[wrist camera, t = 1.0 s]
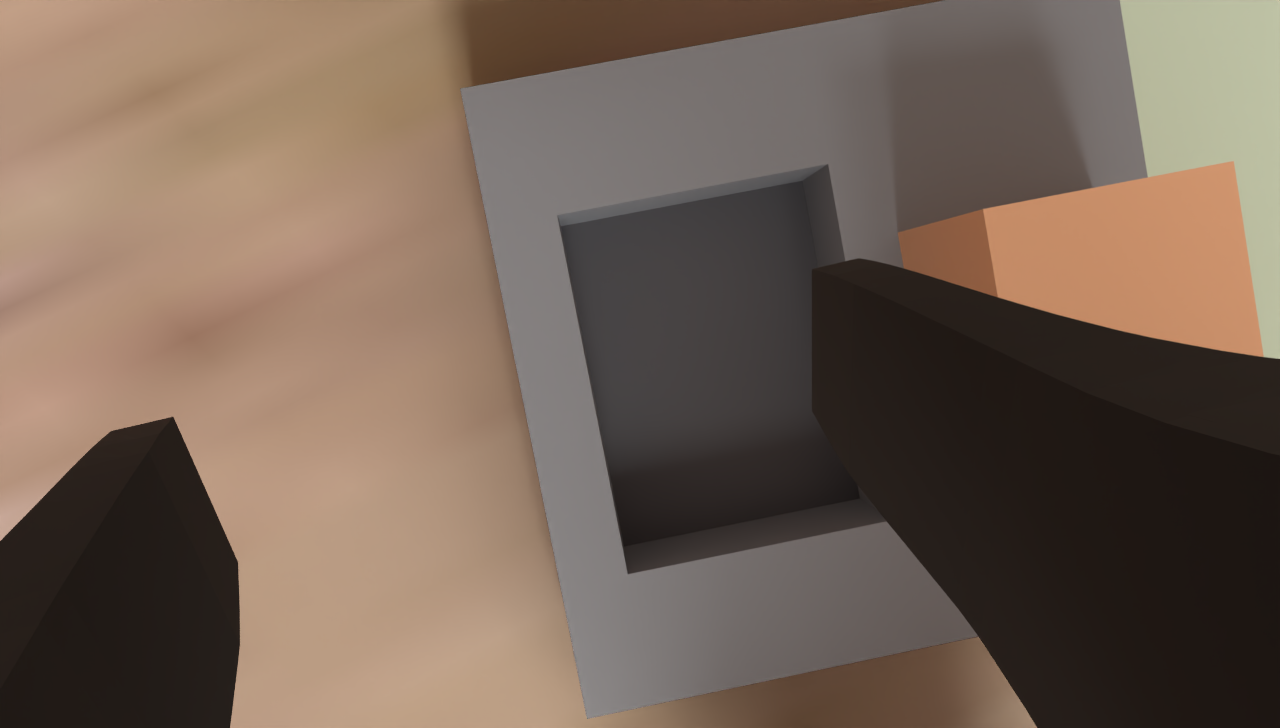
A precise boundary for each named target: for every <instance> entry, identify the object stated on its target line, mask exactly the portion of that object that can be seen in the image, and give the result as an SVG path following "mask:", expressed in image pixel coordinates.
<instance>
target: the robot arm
mask: <svg viewBox="0 0 1280 728" xmlns="http://www.w3.org/2000/svg"><path fill="white" fill-rule="evenodd" d="M812 412H813V414H814V416H815V417H816V419H817V421H818V423H819V424H820V426H821V428H822V430H823V431H824V433H825V435H826V437H827V439H828V440H829V442H830V444H831V446H832V447H833V449H834V451H835V452H836V454H837V455H838V457H839V459H840V460H841V462H842V464H843V465H844V467H845V468H846V470H847V472H848V473H849V475H850V476H851V477H852V479H853V480H854V481H855V482H856V484H857V485H858V486H859V488H860V489H861V490H862V491H863V493H864V494H865V495H866V496H867V498H868V499H869V500H870V501H871V503H872V504H873V505H874V506H875V508H876V509H877V510H878V511H879V513H880V514H881V515H882V516H883V518H884V519H885V520H886V521H887V523H888V524H889V525H890V526H891V527H892V529H893V530H894V531H895V532H896V534H897V535H898V536H899V537H900V538H901V540H902V541H903V542H904V543H905V545H906V546H907V547H908V548H909V549H910V551H911V552H912V553H913V554H914V556H915V557H916V558H917V559H918V560H919V562H920V563H921V564H922V565H923V567H924V568H925V569H926V570H927V571H928V573H929V574H930V575H931V576H932V578H933V579H934V580H935V581H936V582H937V584H938V585H939V586H940V587H941V589H942V590H943V591H944V592H945V593H946V595H947V596H948V597H949V598H950V600H951V601H952V602H953V603H954V604H955V606H956V607H957V608H958V609H959V611H960V612H961V614H962V615H963V616H964V618H965V619H966V620H967V622H968V623H969V624H970V626H971V627H972V628H973V630H974V631H975V632H976V634H977V635H978V636H979V638H980V639H981V641H982V642H983V644H984V645H985V647H986V648H987V650H988V651H989V653H990V654H991V656H992V657H993V659H994V660H995V662H996V664H997V665H998V667H999V668H1000V670H1001V671H1002V673H1003V674H1004V676H1005V677H1006V679H1007V680H1008V682H1009V684H1010V685H1011V687H1012V688H1013V690H1014V691H1015V693H1016V694H1017V696H1018V697H1019V699H1020V700H1021V702H1022V704H1023V705H1024V707H1025V708H1026V710H1027V711H1028V713H1029V715H1030V716H1031V718H1032V720H1033V721H1034V723H1035V724H1036V726H1037V728H1280V359H1276V358H1268V357H1260V356H1254V355H1247V354H1240V353H1234V352H1227V351H1221V350H1215V349H1210V348H1205V347H1199V346H1194V345H1189V344H1183V343H1178V342H1173V341H1167V340H1162V339H1156V338H1151V337H1147V336H1142V335H1138V334H1133V333H1129V332H1124V331H1120V330H1115V329H1111V328H1108V327H1104V326H1100V325H1096V324H1092V323H1088V322H1084V321H1080V320H1076V319H1072V318H1069V317H1065V316H1061V315H1057V314H1053V313H1050V312H1046V311H1043V310H1039V309H1036V308H1032V307H1029V306H1025V305H1022V304H1019V303H1015V302H1012V301H1009V300H1005V299H1002V298H999V297H995V296H992V295H989V294H986V293H982V292H979V291H976V290H973V289H970V288H966V287H963V286H960V285H957V284H953V283H950V282H947V281H944V280H941V279H937V278H934V277H931V276H928V275H924V274H921V273H918V272H914V271H911V270H907V269H904V268H900V267H897V266H893V265H889V264H886V263H881V262H877V261H872V260H867V259H861V258H857V259H853V260H849V261H844V262H840V263H836V264H831V265H827V266H823V267H818V268H814V269H812ZM239 647H240V609H239V580H238V561H237V559H236V557H235V555H234V552H233V550H232V548H231V546H230V543H229V541H228V539H227V537H226V534H225V532H224V530H223V528H222V525H221V523H220V521H219V519H218V516H217V514H216V512H215V510H214V507H213V505H212V503H211V501H210V498H209V496H208V494H207V492H206V489H205V487H204V485H203V483H202V480H201V478H200V476H199V474H198V471H197V469H196V467H195V465H194V462H193V460H192V458H191V456H190V453H189V451H188V449H187V447H186V444H185V442H184V440H183V438H182V435H181V433H180V431H179V429H178V426H177V424H176V422H175V420H174V417H171V418H166V419H162V420H158V421H153V422H149V423H145V424H140V425H136V426H132V427H127V428H123V429H119V430H114V431H111V432H110V433H108V434H107V435H106V436H105V437H104V438H102V439H101V440H100V441H99V442H98V443H97V444H96V445H95V446H94V447H92V448H91V449H90V450H89V451H88V452H87V453H86V454H85V455H84V456H83V457H82V458H81V459H80V460H79V461H78V462H77V463H76V464H75V465H74V466H73V467H72V468H71V469H70V470H69V471H68V472H67V473H66V474H65V475H64V476H63V477H62V478H61V480H60V481H59V482H58V483H57V484H56V485H55V486H54V487H53V488H52V489H51V490H50V491H49V492H48V493H47V494H46V495H45V496H44V497H43V498H42V499H41V500H40V501H39V502H38V503H37V504H36V505H35V506H34V507H33V508H32V509H31V510H30V511H29V512H28V514H27V515H26V516H25V517H24V518H23V519H22V520H21V521H20V522H19V523H18V524H17V525H16V526H15V527H14V528H13V529H12V530H11V531H10V532H9V533H8V534H7V535H6V536H5V537H4V538H3V539H2V540H1V541H0V728H230V722H231V715H232V707H233V698H234V690H235V682H236V674H237V665H238V656H239Z"/></svg>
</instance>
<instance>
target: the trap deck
mask: <svg viewBox="0 0 1280 728" xmlns="http://www.w3.org/2000/svg"><path fill="white" fill-rule="evenodd" d="M460 90H461V95H462V100H463V105H464V110H465V115H466V120H467V125H468V130H469V135H470V140H471V145H472V150H473V155H474V160H475V165H476V170H477V175H478V180H479V185H480V190H481V194H482V199H483V204H484V209H485V214H486V219H487V224H488V229H489V234H490V239H491V244H492V249H493V254H494V259H495V264H496V269H497V274H498V279H499V284H500V289H501V294H502V299H503V304H504V309H505V314H506V319H507V324H508V329H509V334H510V339H511V344H512V348H513V353H514V358H515V363H516V368H517V373H518V378H519V383H520V388H521V393H522V398H523V403H524V408H525V413H526V418H527V423H528V428H529V433H530V438H531V443H532V448H533V453H534V458H535V463H536V468H537V473H538V478H539V483H540V488H541V493H542V498H543V503H544V507H545V512H546V517H547V522H548V527H549V532H550V537H551V542H552V547H553V552H554V557H555V562H556V567H557V572H558V577H559V582H560V587H561V592H562V597H563V602H564V607H565V612H566V617H567V622H568V627H569V632H570V637H571V642H572V647H573V652H574V657H575V661H576V666H577V671H578V676H579V681H580V686H581V691H582V696H583V701H584V706H585V711H586V716H587V719H589V718H594V717H598V716H603V715H608V714H613V713H617V712H622V711H627V710H632V709H636V708H641V707H646V706H651V705H655V704H660V703H665V702H670V701H674V700H679V699H684V698H689V697H693V696H698V695H703V694H708V693H712V692H717V691H722V690H727V689H731V688H736V687H741V686H746V685H750V684H755V683H760V682H765V681H769V680H774V679H779V678H784V677H788V676H793V675H798V674H803V673H807V672H812V671H817V670H822V669H826V668H831V667H836V666H841V665H845V664H850V663H855V662H860V661H864V660H869V659H874V658H879V657H883V656H888V655H893V654H898V653H902V652H907V651H912V650H917V649H921V648H926V647H931V646H936V645H940V644H945V643H950V642H955V641H959V640H964V639H969V638H974V637H978V635H977V634H976V632H975V631H974V630H973V628H972V627H971V626H970V624H969V623H968V622H967V620H966V619H965V618H964V616H963V615H962V614H961V612H960V611H959V609H958V608H957V607H956V606H955V604H954V603H953V602H952V601H951V600H950V598H949V597H948V596H947V595H946V593H945V592H944V591H943V590H942V589H941V587H940V586H939V585H938V584H937V582H936V581H935V580H934V579H933V578H932V576H931V575H930V574H929V573H928V571H927V570H926V569H925V568H924V567H923V565H922V564H921V563H920V562H919V560H918V559H917V558H916V557H915V556H914V554H913V553H912V552H911V551H910V549H909V548H908V547H907V546H906V545H905V543H904V542H903V541H902V540H901V538H900V537H899V536H898V535H897V534H896V532H895V531H894V530H893V529H892V527H891V526H890V525H889V524H888V523H887V521H886V520H885V519H884V518H883V516H882V515H881V514H880V513H879V511H878V510H877V509H876V508H875V506H874V505H873V504H872V503H871V501H870V500H869V499H868V498H867V496H866V495H865V494H864V493H863V491H862V490H861V489H860V488H859V486H858V485H857V484H856V482H855V481H854V480H853V479H852V477H851V476H850V475H849V473H848V472H847V470H846V468H845V467H844V465H843V464H842V462H841V460H840V459H839V457H838V455H837V454H836V452H835V451H834V449H833V447H832V446H831V444H830V442H829V440H828V439H827V437H826V435H825V433H824V431H823V430H822V428H821V426H820V424H819V423H818V421H817V419H816V417H815V416H814V414H813V412H812V269H814V268H818V267H823V266H827V265H831V264H836V263H840V262H844V261H849V260H853V259H857V258H861V259H867V260H872V261H877V262H881V263H886V264H889V265H893V266H897V267H900V268H904V266H903V260H902V255H901V249H900V243H899V237H898V232H902V231H905V230H909V229H913V228H916V227H920V226H924V225H927V224H931V223H934V222H938V221H942V220H945V219H949V218H952V217H956V216H960V215H963V214H967V213H970V212H974V211H978V210H981V209H986V208H991V207H996V206H1001V205H1007V204H1012V203H1017V202H1022V201H1027V200H1033V199H1038V198H1043V197H1048V196H1053V195H1059V194H1064V193H1069V192H1074V191H1080V190H1085V189H1090V188H1095V187H1100V186H1106V185H1111V184H1116V183H1121V182H1126V181H1132V180H1137V179H1142V178H1147V177H1152V176H1158V175H1163V174H1168V173H1173V172H1179V171H1184V170H1189V169H1194V168H1199V167H1205V166H1210V165H1215V164H1220V163H1225V162H1231V161H1234V166H1235V172H1236V179H1237V185H1238V192H1239V198H1240V205H1241V211H1242V218H1243V224H1244V231H1245V237H1246V244H1247V250H1248V257H1249V263H1250V270H1251V277H1252V283H1253V290H1254V296H1255V303H1256V309H1257V316H1258V322H1259V329H1260V335H1261V342H1262V348H1263V355H1264V357H1268V358H1276V359H1280V0H944V1H938V2H933V3H927V4H922V5H916V6H911V7H905V8H900V9H894V10H889V11H883V12H878V13H872V14H867V15H861V16H856V17H850V18H845V19H839V20H834V21H828V22H823V23H817V24H812V25H806V26H801V27H795V28H790V29H785V30H779V31H774V32H768V33H763V34H757V35H752V36H746V37H741V38H735V39H730V40H724V41H719V42H713V43H708V44H702V45H697V46H691V47H686V48H680V49H675V50H669V51H664V52H658V53H653V54H647V55H642V56H637V57H631V58H626V59H620V60H615V61H609V62H604V63H598V64H593V65H587V66H582V67H576V68H571V69H565V70H560V71H554V72H549V73H543V74H538V75H532V76H527V77H521V78H516V79H510V80H505V81H499V82H494V83H489V84H483V85H478V86H472V87H467V88H461V89H460Z"/></svg>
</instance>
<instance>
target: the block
mask: <svg viewBox="0 0 1280 728" xmlns="http://www.w3.org/2000/svg"><path fill="white" fill-rule="evenodd" d="M898 237H899V243H900V249H901V255H902V260H903V266H904V269H907V270H911V271H914V272H918V273H921V274H924V275H928V276H931V277H934V278H937V279H941V280H944V281H947V282H950V283H953V284H957V285H960V286H963V287H966V288H970V289H973V290H976V291H979V292H982V293H986V294H989V295H992V296H995V297H999V298H1002V299H1005V300H1009V301H1012V302H1015V303H1019V304H1022V305H1025V306H1029V307H1032V308H1036V309H1039V310H1043V311H1046V312H1050V313H1053V314H1057V315H1061V316H1065V317H1069V318H1072V319H1076V320H1080V321H1084V322H1088V323H1092V324H1096V325H1100V326H1104V327H1108V328H1111V329H1115V330H1120V331H1124V332H1129V333H1133V334H1138V335H1142V336H1147V337H1151V338H1156V339H1162V340H1167V341H1173V342H1178V343H1183V344H1189V345H1194V346H1199V347H1205V348H1210V349H1215V350H1221V351H1227V352H1234V353H1240V354H1247V355H1254V356H1260V357H1264V355H1263V348H1262V342H1261V335H1260V329H1259V322H1258V316H1257V309H1256V303H1255V296H1254V290H1253V283H1252V277H1251V270H1250V263H1249V257H1248V250H1247V244H1246V237H1245V231H1244V224H1243V218H1242V211H1241V205H1240V198H1239V192H1238V185H1237V179H1236V172H1235V166H1234V161H1231V162H1225V163H1220V164H1215V165H1210V166H1205V167H1199V168H1194V169H1189V170H1184V171H1179V172H1173V173H1168V174H1163V175H1158V176H1152V177H1147V178H1142V179H1137V180H1132V181H1126V182H1121V183H1116V184H1111V185H1106V186H1100V187H1095V188H1090V189H1085V190H1080V191H1074V192H1069V193H1064V194H1059V195H1053V196H1048V197H1043V198H1038V199H1033V200H1027V201H1022V202H1017V203H1012V204H1007V205H1001V206H996V207H991V208H986V209H981V210H978V211H974V212H970V213H967V214H963V215H960V216H956V217H952V218H949V219H945V220H942V221H938V222H934V223H931V224H927V225H924V226H920V227H916V228H913V229H909V230H905V231H902V232H898Z"/></svg>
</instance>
